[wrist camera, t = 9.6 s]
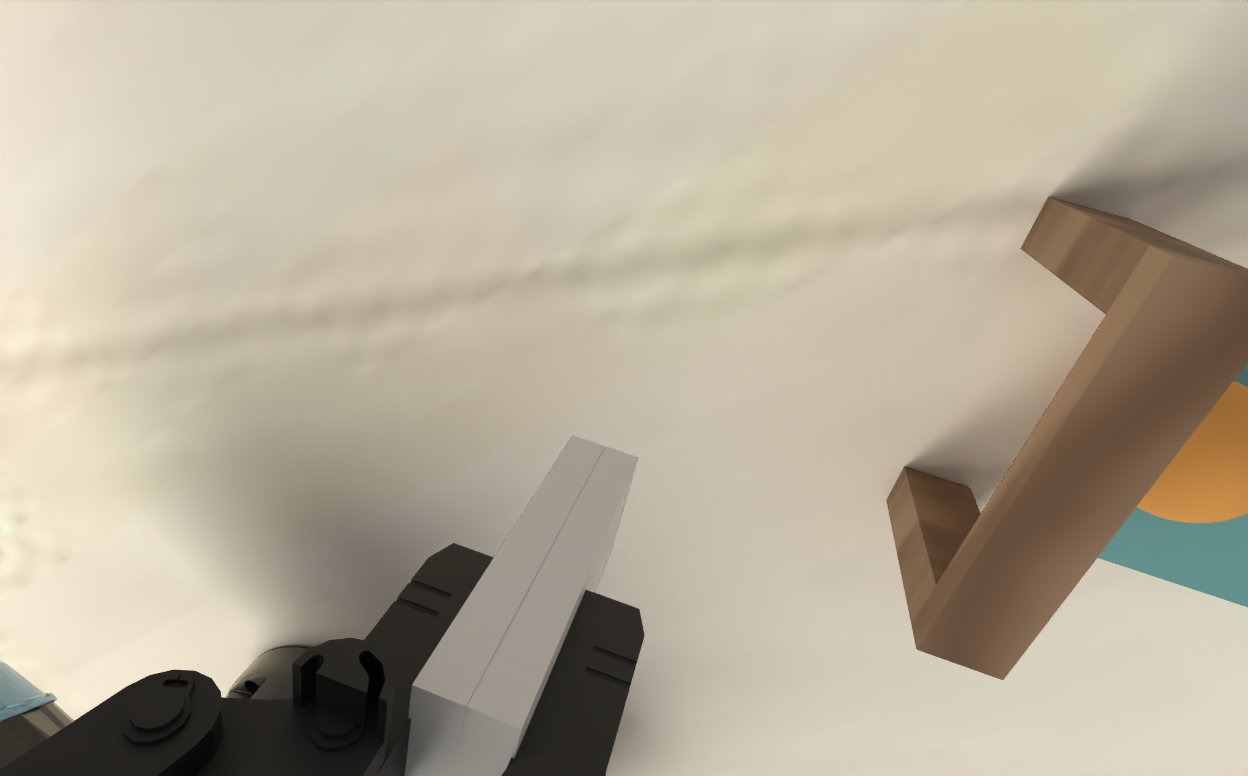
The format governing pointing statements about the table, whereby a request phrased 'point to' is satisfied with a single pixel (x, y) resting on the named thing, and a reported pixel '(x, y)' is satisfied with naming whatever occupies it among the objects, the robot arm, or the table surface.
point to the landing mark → (1187, 549)
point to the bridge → (1074, 439)
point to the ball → (1208, 468)
